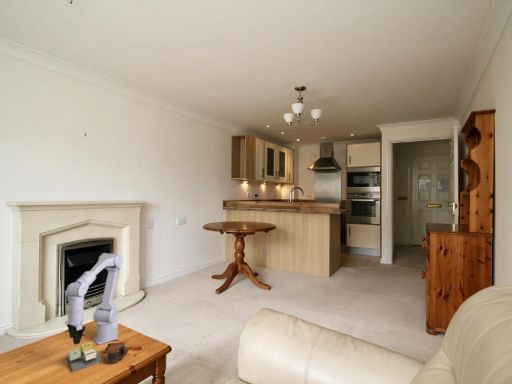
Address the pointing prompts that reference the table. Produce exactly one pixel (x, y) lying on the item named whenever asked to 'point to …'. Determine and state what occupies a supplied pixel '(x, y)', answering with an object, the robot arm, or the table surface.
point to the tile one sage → (74, 354)
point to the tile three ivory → (89, 354)
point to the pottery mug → (115, 352)
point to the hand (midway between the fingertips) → (74, 340)
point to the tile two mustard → (86, 346)
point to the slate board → (82, 362)
